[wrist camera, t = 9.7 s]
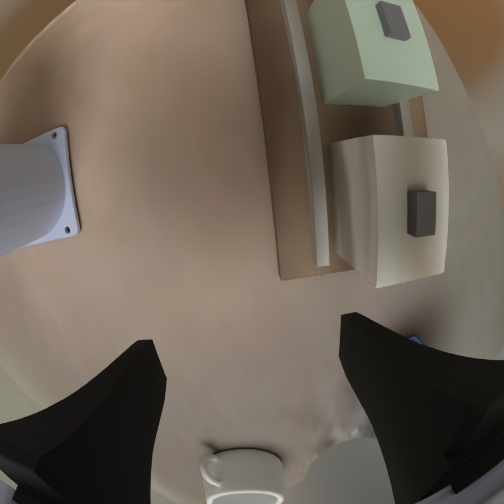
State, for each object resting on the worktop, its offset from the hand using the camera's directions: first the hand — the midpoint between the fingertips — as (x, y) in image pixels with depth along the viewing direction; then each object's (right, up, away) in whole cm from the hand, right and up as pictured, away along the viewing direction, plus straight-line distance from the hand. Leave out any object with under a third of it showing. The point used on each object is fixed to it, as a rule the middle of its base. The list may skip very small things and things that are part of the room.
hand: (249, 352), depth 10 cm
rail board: (+7, +13, +6) cm, 16 cm away
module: (+6, +16, +4) cm, 18 cm away
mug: (-2, -21, +17) cm, 27 cm away
